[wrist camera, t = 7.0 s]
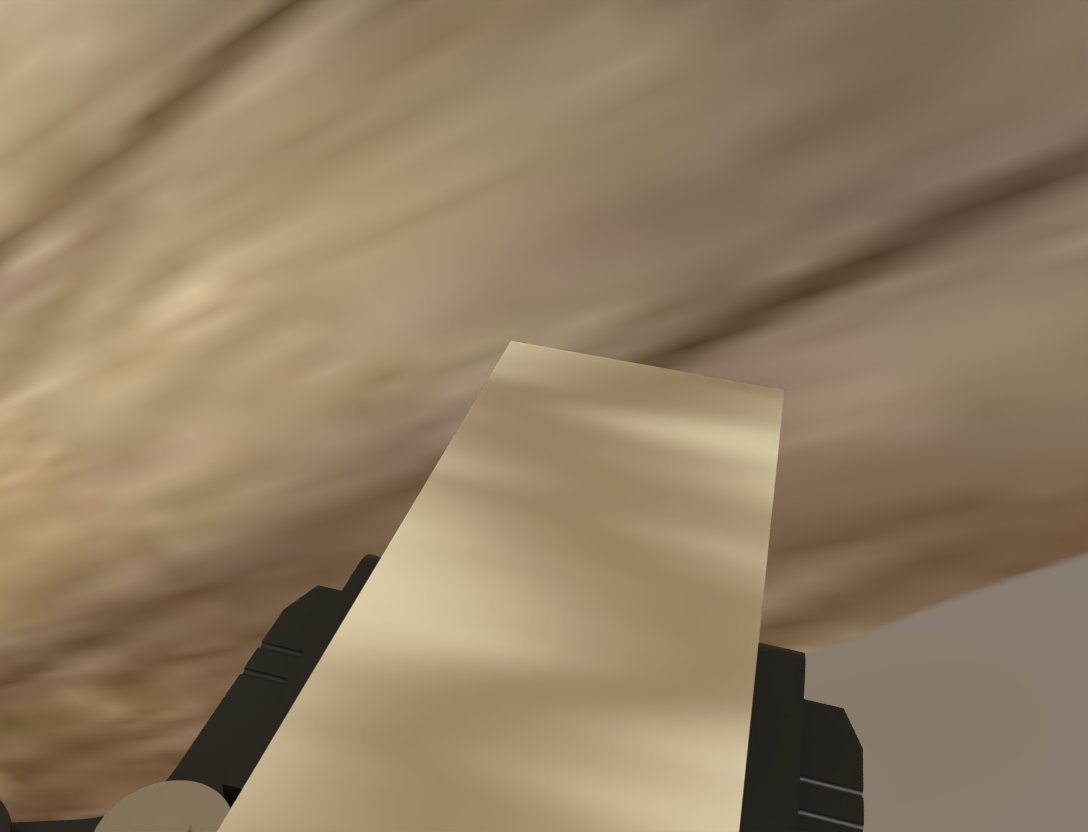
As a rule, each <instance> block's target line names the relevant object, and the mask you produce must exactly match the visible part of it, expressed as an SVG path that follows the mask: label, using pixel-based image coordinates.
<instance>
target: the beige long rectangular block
mask: <svg viewBox="0 0 1088 832" xmlns="http://www.w3.org/2000/svg"><path fill="white" fill-rule="evenodd" d="M783 399H784V390H782V389H776V388H771V387H765V386H760V385H754V384H749V383H743V382H737V381H732V380H726V379H721V378H715V377H710V376H704V375H699V374H693V373H687V372H682V371H676V370H671V369H665V368H660V367H654V366H648V365H643V364H637V363H632V362H626V361H621V360H615V359H609V358H604V357H598V356H593V355H587V354H582V353H576V352H571V351H565V350H559V349H554V348H548V347H543V346H537V345H532V344H526V343H520V342H515V341H511V342H510V343H509V345H508V347H507V348H506V350H505V352H504V353H503V355H502V357H501V358H500V360H499V362H498V363H497V365H496V367H495V368H494V370H493V372H492V373H491V375H490V377H489V378H488V380H487V382H486V383H485V385H484V387H483V388H482V390H481V392H480V393H479V395H478V397H477V398H476V400H475V402H474V403H473V405H472V407H471V408H470V410H469V412H468V413H467V415H466V417H465V418H464V420H463V422H462V424H461V425H460V427H459V429H458V430H457V432H456V434H455V435H454V437H453V439H452V440H451V442H450V444H449V445H448V447H447V449H446V450H445V452H444V454H443V455H442V457H441V459H440V460H439V462H438V464H437V465H436V467H435V469H434V470H433V472H432V474H431V475H430V477H429V479H428V480H427V482H426V484H425V485H424V487H423V489H422V490H421V492H420V494H419V495H418V497H417V499H416V500H415V502H414V504H413V505H412V507H411V509H410V510H409V512H408V514H407V515H406V517H405V519H404V520H403V522H402V524H401V525H400V527H399V529H398V530H397V532H396V534H395V535H394V537H393V539H392V540H391V542H390V544H389V545H388V547H387V549H386V550H385V552H384V554H383V555H382V557H381V559H380V560H379V562H378V564H377V565H376V567H375V569H374V570H373V572H372V574H371V575H370V577H369V579H368V580H367V582H366V584H365V585H364V587H363V589H362V590H361V592H360V594H359V595H358V597H357V599H356V600H355V602H354V604H353V605H352V607H351V609H350V610H349V612H348V614H347V615H346V617H345V619H344V620H343V622H342V624H341V625H340V627H339V629H338V630H337V632H336V634H335V635H334V637H333V639H332V641H331V642H330V644H329V646H328V647H327V649H326V651H325V652H324V654H323V656H322V657H321V659H320V661H319V662H318V664H317V666H316V667H315V669H314V671H313V672H312V674H311V676H310V677H309V679H308V681H307V682H306V684H305V686H304V687H303V689H302V691H301V692H300V694H299V696H298V697H297V699H296V701H295V702H294V704H293V706H292V707H291V709H290V711H289V712H288V714H287V716H286V717H285V719H284V721H283V722H282V724H281V726H280V727H279V729H278V731H277V732H276V734H275V736H274V737H273V739H272V741H271V742H270V744H269V746H268V747H267V749H266V751H265V752H264V754H263V756H262V757H261V759H260V761H259V762H258V764H257V766H256V767H255V769H254V771H253V772H252V774H251V776H250V777H249V779H248V781H247V782H246V784H245V786H244V787H243V789H242V791H241V792H240V794H239V796H238V797H237V799H236V801H235V802H234V804H233V806H232V807H231V809H230V811H229V812H228V814H227V816H226V817H225V819H224V821H223V822H222V824H221V826H220V827H219V829H218V831H217V832H739V828H740V818H741V808H742V798H743V789H744V779H745V769H746V759H747V750H748V740H749V730H750V720H751V711H752V701H753V691H754V681H755V672H756V662H757V652H758V642H759V633H760V623H761V613H762V603H763V594H764V584H765V574H766V564H767V555H768V545H769V535H770V525H771V516H772V506H773V496H774V486H775V477H776V467H777V457H778V447H779V438H780V428H781V418H782V408H783Z"/></svg>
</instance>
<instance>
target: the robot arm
mask: <svg viewBox="0 0 1088 832" xmlns="http://www.w3.org/2000/svg"><path fill="white" fill-rule="evenodd" d="M380 559H381V557H379V556H375V555H370V554H369V555H366V556H365V557H364V558H363V559H362V560H361V561H360V563H359V564H358V566H357V568H356V569H355V571H354V572H353V574H352V576H351V577H350V579H349V580H348V582H347V584H346V585H345V587H344V588H343V590H342V591H340V590H336V589H331V588H327V587H323V586H316V587H315V588H314V589H312V590H311V591H309V592H308V593H307V594H305V595H304V596H302V597H301V598H299V599H298V600H297V601H295V602H294V603H292V604H291V605H290V606H288V607H287V608H285V609H284V610H283V611H282V613H281V614H280V616H279V617H278V619H277V620H276V622H275V623H274V625H273V626H272V628H271V629H270V631H269V632H268V634H267V635H266V637H265V638H264V639H263V641H262V646H261V648H257V650H256V651H255V653H254V654H253V656H252V657H251V659H250V660H249V662H248V663H247V664H246V666H245V669H244V673H243V674H240V675H239V676H238V678H237V679H236V681H235V682H234V684H233V685H232V687H231V688H230V690H229V691H228V692H227V694H226V695H225V697H224V698H223V700H222V701H221V703H220V704H219V706H218V707H217V709H216V710H215V712H214V713H213V715H212V716H211V717H210V719H209V720H208V722H207V723H206V725H205V726H204V728H203V729H202V731H201V732H200V734H199V735H198V737H197V738H196V740H195V741H194V742H193V744H192V745H191V747H190V748H189V750H188V751H187V753H186V754H185V756H184V757H183V759H182V760H181V762H180V763H179V765H178V766H177V768H176V769H175V770H174V771H173V773H172V774H171V775H170V777H169V778H168V779H167V780H166V781H165V782H160V783H156V784H153V785H150V786H146V787H144V788H142V789H140V790H137V791H135V792H133V793H132V794H130V795H128V796H127V797H125V798H124V799H122V800H121V801H120V802H118V803H117V804H116V805H115V806H113V807H112V808H111V809H110V811H109V812H108V813H107V814H106V815H105V816H101V817H97V818H90V819H80V820H59V821H37V822H16V823H12V822H11V819H10V816H9V813H8V811H7V809H6V807H5V805H4V804H3V803H2V802H1V801H0V832H217V831H218V829H219V827H220V826H221V824H222V822H223V821H224V819H225V817H226V816H227V814H228V812H229V811H230V809H231V807H232V806H233V804H234V802H235V801H236V799H237V797H238V796H239V794H240V792H241V791H242V789H243V787H244V786H245V784H246V782H247V781H248V779H249V777H250V776H251V774H252V772H253V771H254V769H255V767H256V766H257V764H258V762H259V761H260V759H261V757H262V756H263V754H264V752H265V751H266V749H267V747H268V746H269V744H270V742H271V741H272V739H273V737H274V736H275V734H276V732H277V731H278V729H279V727H280V726H281V724H282V722H283V721H284V719H285V717H286V716H287V714H288V712H289V711H290V709H291V707H292V706H293V704H294V702H295V701H296V699H297V697H298V696H299V694H300V692H301V691H302V689H303V687H304V686H305V684H306V682H307V681H308V679H309V677H310V676H311V674H312V672H313V671H314V669H315V667H316V666H317V664H318V662H319V661H320V659H321V657H322V656H323V654H324V652H325V651H326V649H327V647H328V646H329V644H330V642H331V641H332V639H333V637H334V635H335V634H336V632H337V630H338V629H339V627H340V625H341V624H342V622H343V620H344V619H345V617H346V615H347V614H348V612H349V610H350V609H351V607H352V605H353V604H354V602H355V600H356V599H357V597H358V595H359V594H360V592H361V590H362V589H363V587H364V585H365V584H366V582H367V580H368V579H369V577H370V575H371V574H372V572H373V570H374V569H375V567H376V565H377V564H378V562H379V560H380ZM804 682H805V653H803V652H798V651H794V650H790V649H785V648H781V647H776V646H772V645H767V644H763V643H758V652H757V662H756V672H755V681H754V691H753V701H752V711H751V720H750V730H749V740H748V750H747V759H746V769H745V779H744V789H743V798H742V808H741V818H740V828H739V832H863V825H864V804H863V803H864V801H863V798H862V793H863V748H862V746H861V744H860V742H859V740H858V738H857V736H856V734H855V731H854V729H853V727H852V725H851V723H850V721H849V719H848V717H847V715H846V713H845V710H844V709H843V708H839V707H835V706H831V705H826V704H822V703H818V702H814V701H808V700H805V699H804Z"/></svg>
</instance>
